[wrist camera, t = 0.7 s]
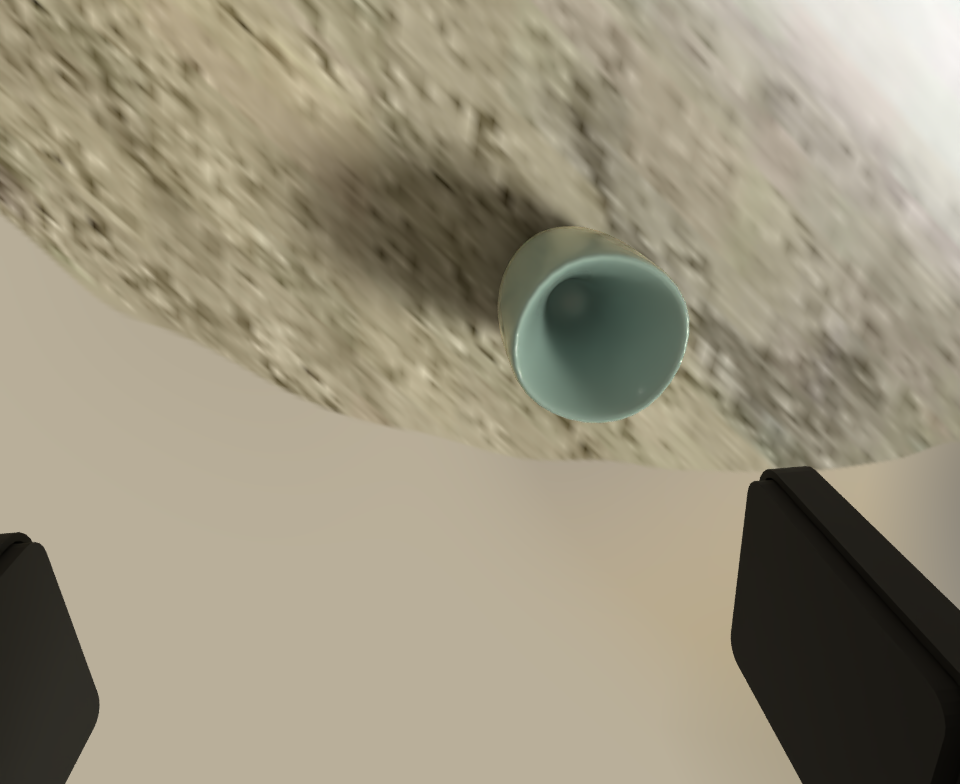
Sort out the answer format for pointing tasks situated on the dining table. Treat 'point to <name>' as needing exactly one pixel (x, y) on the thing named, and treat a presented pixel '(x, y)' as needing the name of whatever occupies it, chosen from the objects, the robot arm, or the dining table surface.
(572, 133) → the dining table surface
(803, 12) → the dining table surface
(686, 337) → the cup
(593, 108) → the dining table surface
